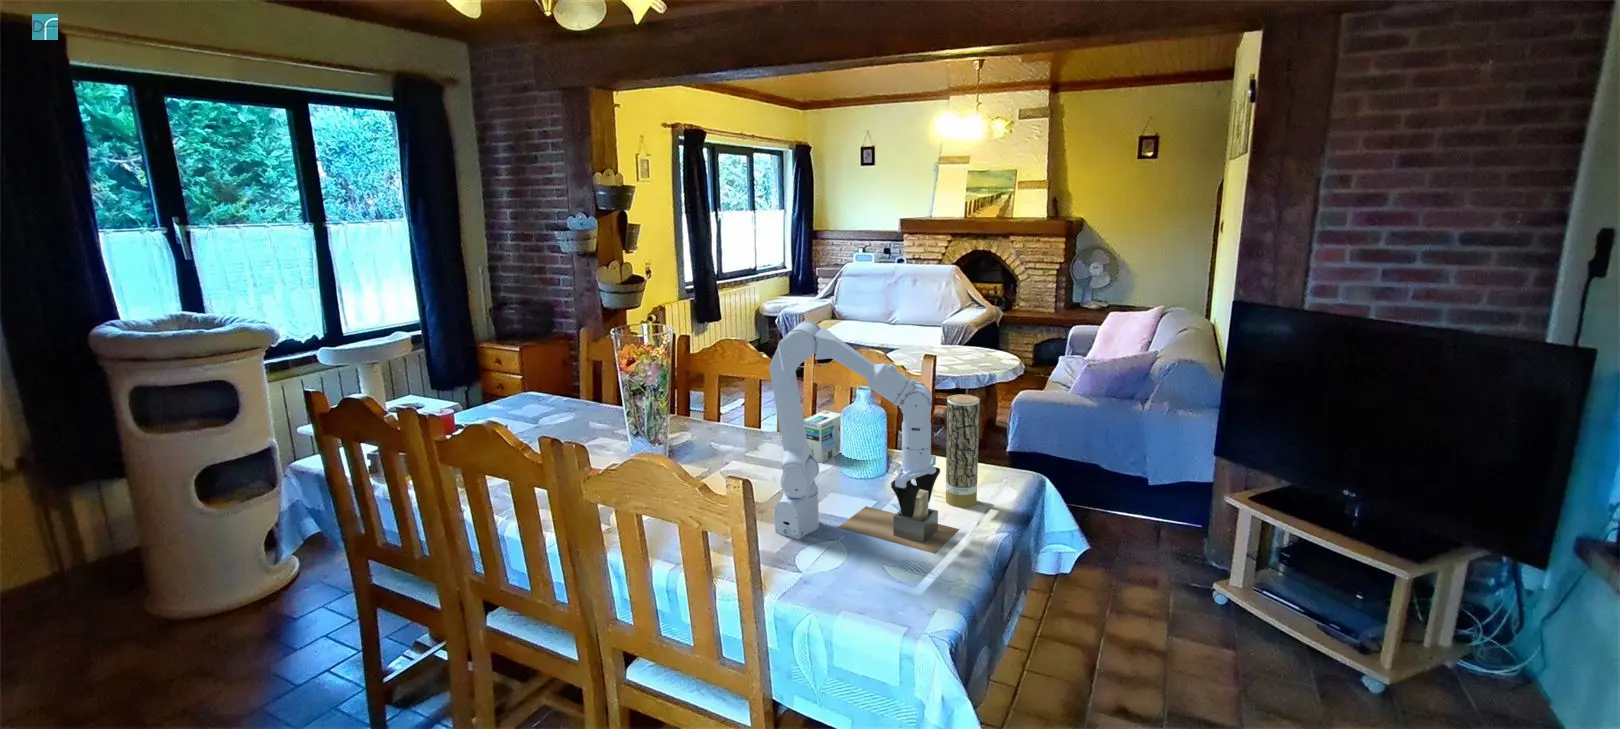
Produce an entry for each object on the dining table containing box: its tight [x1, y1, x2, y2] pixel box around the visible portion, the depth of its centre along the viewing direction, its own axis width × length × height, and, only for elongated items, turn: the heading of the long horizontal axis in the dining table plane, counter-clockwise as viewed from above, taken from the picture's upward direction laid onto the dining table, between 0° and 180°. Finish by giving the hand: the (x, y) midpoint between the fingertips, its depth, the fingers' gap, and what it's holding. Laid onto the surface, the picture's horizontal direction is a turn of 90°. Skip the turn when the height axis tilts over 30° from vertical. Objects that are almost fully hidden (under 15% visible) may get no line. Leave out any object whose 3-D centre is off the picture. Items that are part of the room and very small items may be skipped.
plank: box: [837, 505, 960, 554], centre depth 154 cm, size 12×22×1 cm, turn 56°
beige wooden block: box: [902, 489, 929, 521], centre depth 151 cm, size 4×4×8 cm
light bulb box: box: [803, 410, 842, 464], centre depth 199 cm, size 11×7×11 cm, turn 143°
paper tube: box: [945, 394, 980, 509], centre depth 163 cm, size 7×7×25 cm
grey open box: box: [893, 507, 939, 543], centre depth 151 cm, size 7×7×4 cm
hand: (915, 508), depth 151 cm, fingers open, 7 cm apart
